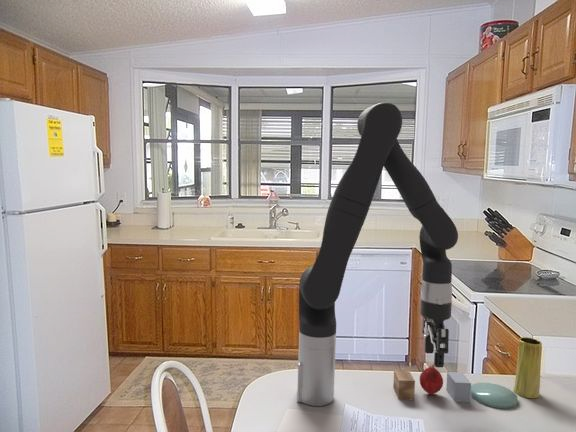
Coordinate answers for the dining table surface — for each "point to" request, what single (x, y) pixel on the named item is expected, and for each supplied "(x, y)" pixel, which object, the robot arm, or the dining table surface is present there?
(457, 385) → the slate block
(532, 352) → the vase
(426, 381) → the onion
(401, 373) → the walnut block
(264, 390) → the dining table surface
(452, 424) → the dining table surface
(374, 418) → the dining table surface
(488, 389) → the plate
